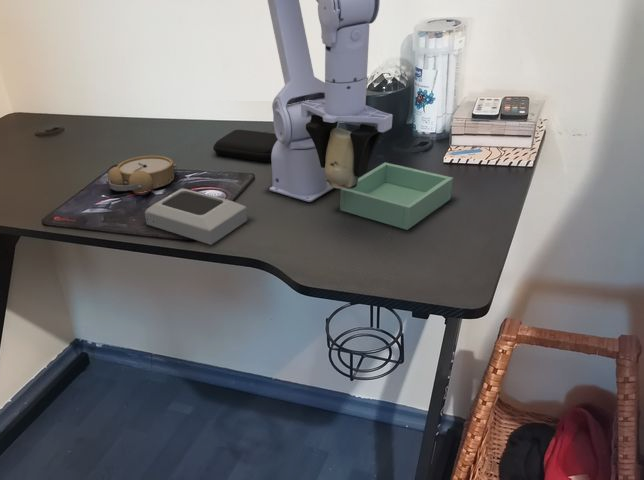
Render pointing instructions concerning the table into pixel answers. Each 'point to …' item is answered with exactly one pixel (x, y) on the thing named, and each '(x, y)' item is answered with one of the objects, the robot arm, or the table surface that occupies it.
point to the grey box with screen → (196, 215)
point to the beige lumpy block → (340, 160)
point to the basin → (396, 195)
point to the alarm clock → (141, 174)
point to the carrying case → (247, 145)
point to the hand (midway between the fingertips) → (342, 169)
